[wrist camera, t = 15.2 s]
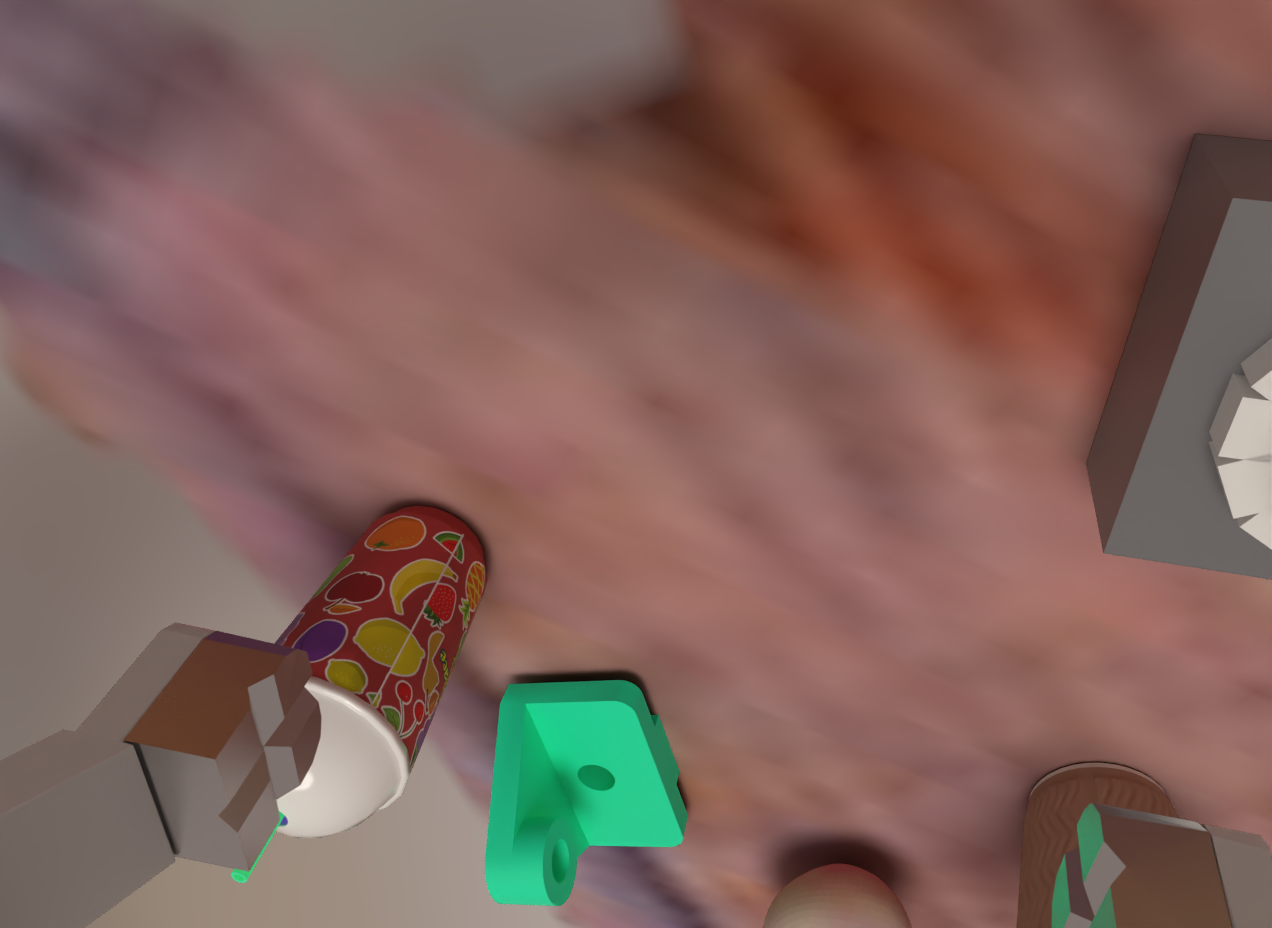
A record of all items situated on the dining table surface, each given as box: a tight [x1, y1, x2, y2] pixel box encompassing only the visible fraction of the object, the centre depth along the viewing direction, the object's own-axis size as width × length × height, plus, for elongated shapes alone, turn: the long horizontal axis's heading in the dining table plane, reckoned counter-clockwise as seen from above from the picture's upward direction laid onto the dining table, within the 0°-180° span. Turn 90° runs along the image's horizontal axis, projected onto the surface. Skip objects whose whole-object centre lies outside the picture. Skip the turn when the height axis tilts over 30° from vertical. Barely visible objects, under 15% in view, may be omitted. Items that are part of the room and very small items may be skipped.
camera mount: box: [485, 680, 688, 906], centre depth 59 cm, size 12×8×10 cm, turn 16°
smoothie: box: [231, 505, 487, 883], centre depth 49 cm, size 8×8×20 cm
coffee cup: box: [1017, 763, 1179, 928], centre depth 52 cm, size 10×10×12 cm
